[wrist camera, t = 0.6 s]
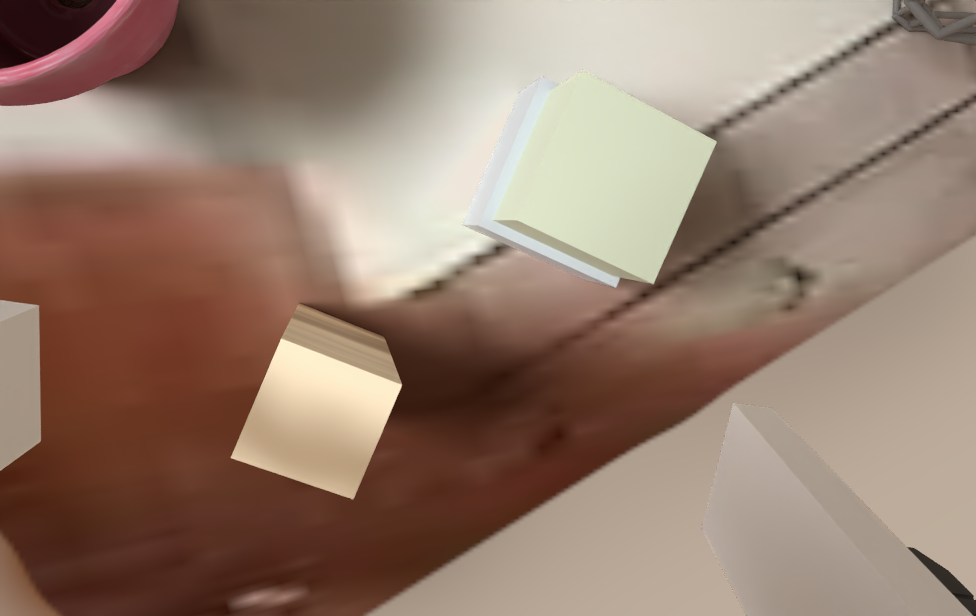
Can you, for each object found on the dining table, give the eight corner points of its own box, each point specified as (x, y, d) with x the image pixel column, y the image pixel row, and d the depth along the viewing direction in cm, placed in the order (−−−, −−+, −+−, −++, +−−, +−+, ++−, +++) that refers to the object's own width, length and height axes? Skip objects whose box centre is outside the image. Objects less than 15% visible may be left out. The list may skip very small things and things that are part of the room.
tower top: (549, 90, 36) (582, 69, 31) (667, 152, 37) (716, 141, 32) (492, 220, 36) (516, 219, 31) (612, 276, 37) (653, 284, 33)
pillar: (298, 303, 39) (281, 338, 27) (384, 336, 40) (402, 385, 29) (263, 387, 39) (230, 457, 28) (349, 418, 40) (353, 499, 29)
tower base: (517, 93, 40) (542, 76, 36) (639, 154, 42) (677, 146, 37) (461, 224, 41) (478, 225, 36) (584, 280, 42) (615, 287, 38)
